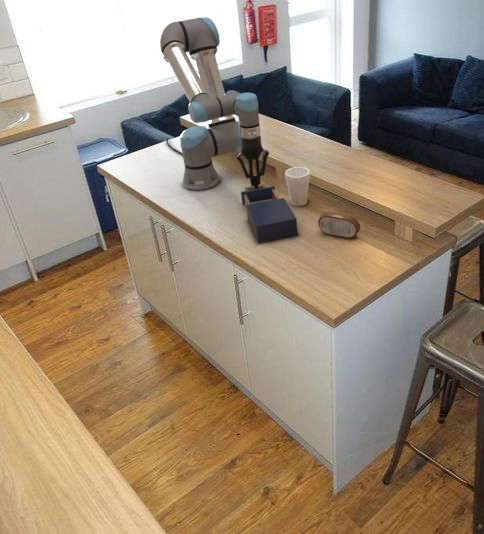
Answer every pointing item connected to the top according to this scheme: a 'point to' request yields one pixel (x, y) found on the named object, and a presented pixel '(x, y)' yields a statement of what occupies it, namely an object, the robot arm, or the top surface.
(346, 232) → the tin
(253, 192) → the drawer
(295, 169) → the foam cup
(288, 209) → the cabinet
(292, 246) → the top surface
